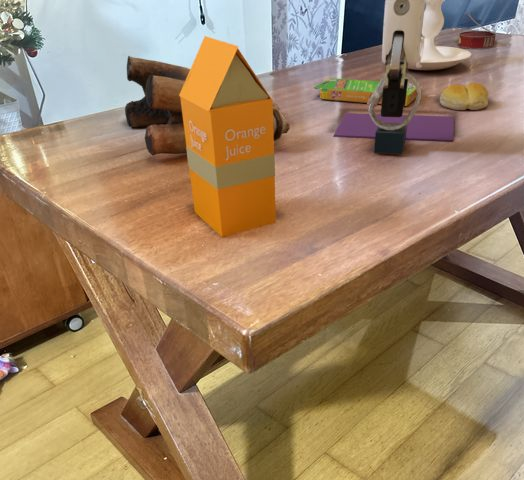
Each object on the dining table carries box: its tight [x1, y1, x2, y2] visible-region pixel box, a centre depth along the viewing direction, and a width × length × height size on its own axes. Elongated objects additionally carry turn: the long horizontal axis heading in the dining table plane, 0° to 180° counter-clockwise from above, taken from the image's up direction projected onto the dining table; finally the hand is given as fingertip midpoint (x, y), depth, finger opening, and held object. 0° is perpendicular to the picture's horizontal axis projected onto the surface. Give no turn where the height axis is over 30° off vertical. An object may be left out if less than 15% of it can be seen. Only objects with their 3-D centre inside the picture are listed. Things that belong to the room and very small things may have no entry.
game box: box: [313, 78, 421, 107], centre depth 113 cm, size 3×10×20 cm
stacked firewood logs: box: [124, 55, 290, 156], centre depth 95 cm, size 13×31×25 cm
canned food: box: [457, 11, 497, 50], centre depth 153 cm, size 11×10×10 cm
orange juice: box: [179, 35, 277, 238], centre depth 64 cm, size 8×9×20 cm
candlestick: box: [408, 0, 472, 71], centre depth 125 cm, size 21×25×28 cm
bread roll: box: [439, 82, 489, 111], centre depth 105 cm, size 8×9×4 cm
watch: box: [366, 72, 422, 155], centre depth 84 cm, size 6×8×11 cm
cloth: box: [333, 112, 455, 142], centre depth 97 cm, size 20×14×1 cm
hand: (393, 110), depth 84 cm, fingers closed on watch, 4 cm apart
